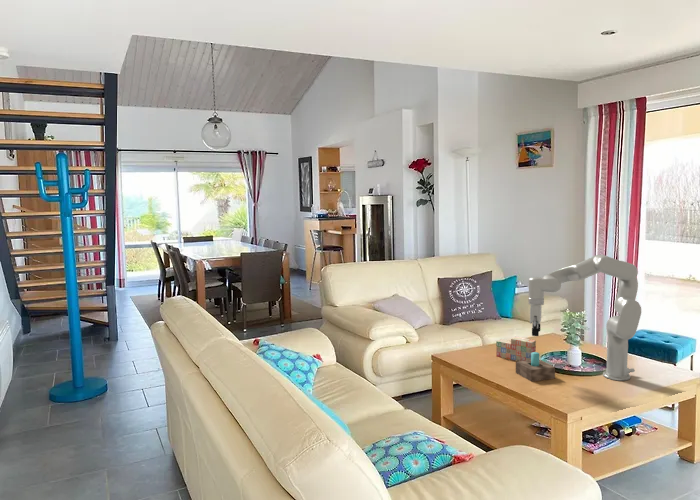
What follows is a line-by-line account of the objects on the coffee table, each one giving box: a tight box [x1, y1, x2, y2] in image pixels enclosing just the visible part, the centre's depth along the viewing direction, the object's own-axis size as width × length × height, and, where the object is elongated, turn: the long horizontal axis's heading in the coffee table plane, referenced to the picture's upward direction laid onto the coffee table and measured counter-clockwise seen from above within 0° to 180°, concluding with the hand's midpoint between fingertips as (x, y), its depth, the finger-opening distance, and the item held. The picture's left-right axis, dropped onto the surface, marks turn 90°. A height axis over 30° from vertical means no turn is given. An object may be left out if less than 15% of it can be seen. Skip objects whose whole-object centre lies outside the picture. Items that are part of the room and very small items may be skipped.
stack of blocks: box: [495, 336, 537, 362], centre depth 307 cm, size 21×6×12 cm, turn 47°
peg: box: [531, 351, 540, 367], centre depth 278 cm, size 4×4×12 cm
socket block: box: [515, 359, 556, 382], centre depth 278 cm, size 14×14×6 cm
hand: (536, 333), depth 276 cm, fingers open, 9 cm apart
